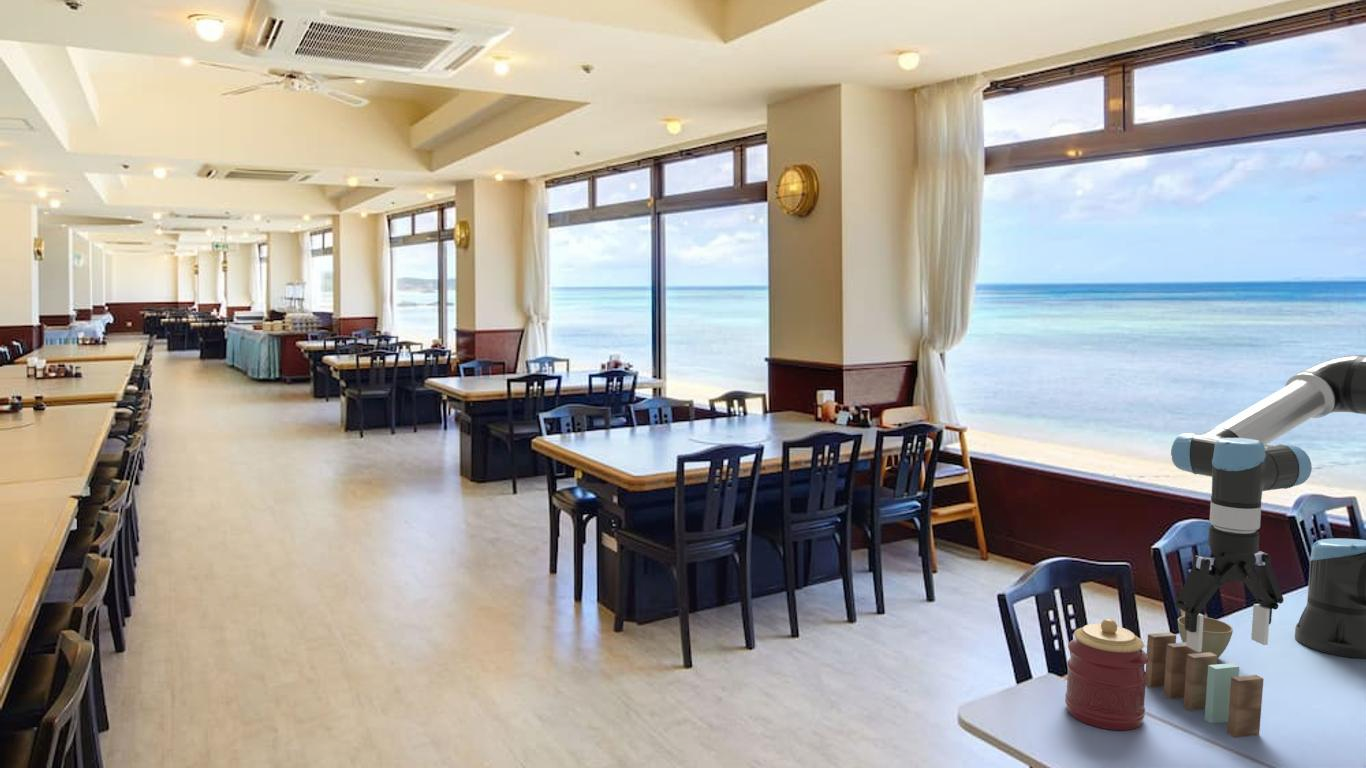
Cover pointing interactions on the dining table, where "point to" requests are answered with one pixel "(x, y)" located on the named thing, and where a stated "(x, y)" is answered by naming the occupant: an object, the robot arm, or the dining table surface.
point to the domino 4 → (1219, 691)
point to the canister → (1106, 677)
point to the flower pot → (1210, 635)
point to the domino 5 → (1245, 705)
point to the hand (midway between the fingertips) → (1226, 645)
